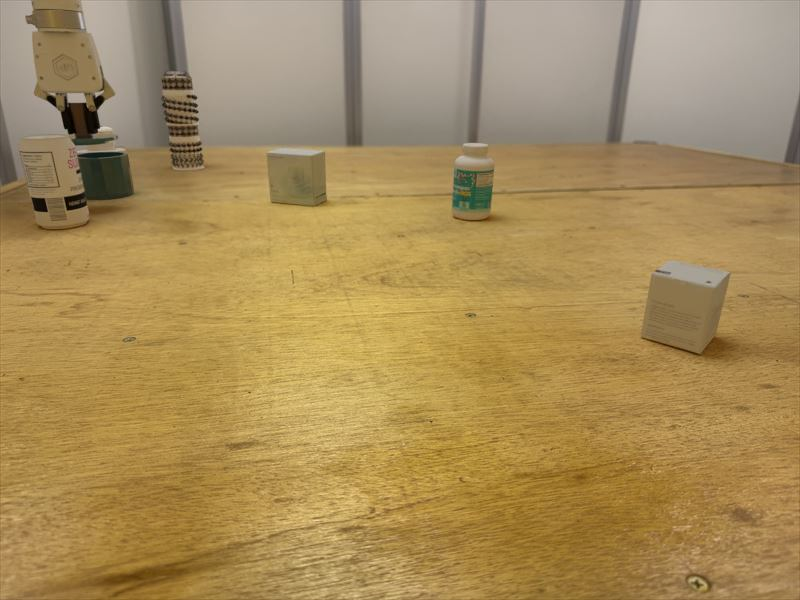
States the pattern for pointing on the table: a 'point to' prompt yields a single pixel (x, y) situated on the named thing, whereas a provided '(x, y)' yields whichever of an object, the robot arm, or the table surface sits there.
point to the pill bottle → (473, 183)
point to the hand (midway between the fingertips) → (83, 132)
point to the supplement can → (54, 180)
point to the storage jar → (105, 175)
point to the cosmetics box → (297, 176)
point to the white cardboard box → (684, 305)
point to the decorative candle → (182, 120)
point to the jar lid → (85, 127)
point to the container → (103, 147)
